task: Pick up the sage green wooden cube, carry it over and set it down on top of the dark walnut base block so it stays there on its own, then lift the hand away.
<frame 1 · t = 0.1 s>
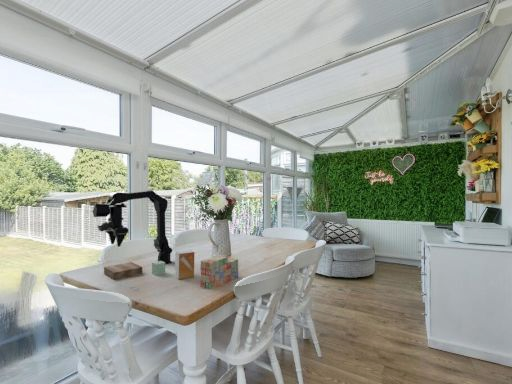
hand: (115, 245, 138), 15 cm above the table, tool pointing down, fingers open, 9 cm apart
stack of blocks: (220, 282, 127), on the table
green cube: (158, 273, 137), on the table
walnut base: (123, 274, 136), on the table
small box: (184, 277, 133), on the table
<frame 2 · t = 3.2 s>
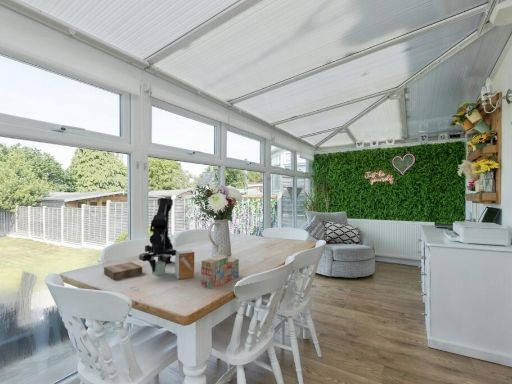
hand: (158, 270, 137), 2 cm above the table, tool pointing down, fingers closed on green cube, 5 cm apart
green cube: (158, 273, 137), on the table, touching gripper
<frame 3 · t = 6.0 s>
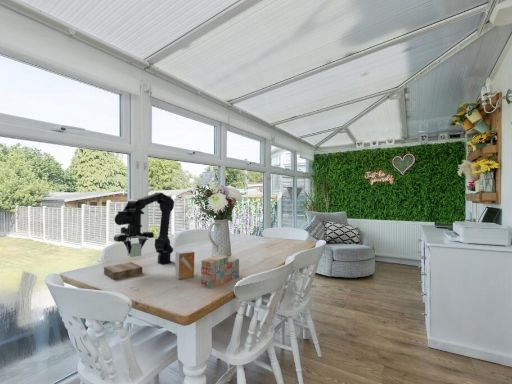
hand: (134, 252, 137), 11 cm above the table, tool pointing down, fingers closed on green cube, 5 cm apart
green cube: (134, 255, 137), point 10 cm above the table, touching gripper
when the fingers open (7 cm above the table, at t = 8.8 s): green cube drops 2 cm, point 3 cm above the table.
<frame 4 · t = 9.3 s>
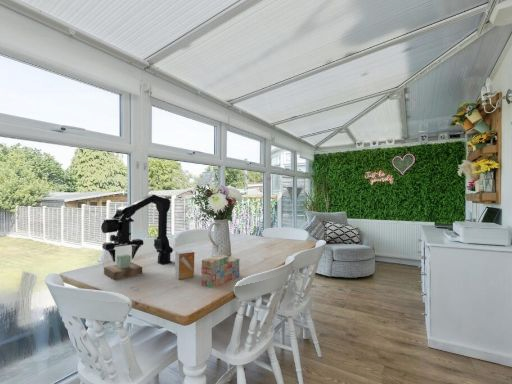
hand: (123, 260, 137), 7 cm above the table, tool pointing down, fingers open, 9 cm apart
green cube: (123, 267, 136), point 3 cm above the table
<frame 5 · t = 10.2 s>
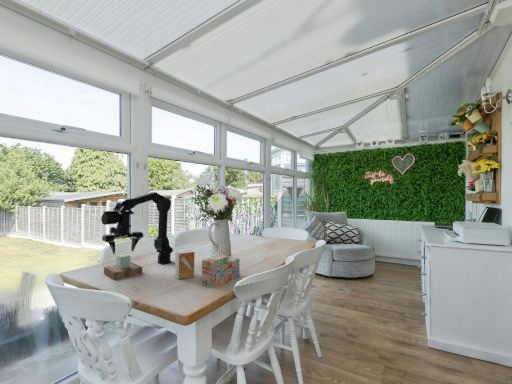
hand: (123, 252, 136), 11 cm above the table, tool pointing down, fingers open, 9 cm apart
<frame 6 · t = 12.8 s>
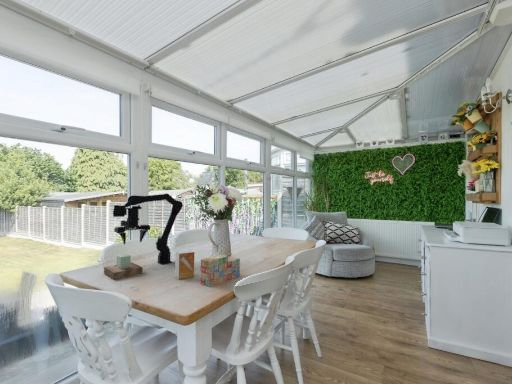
hand: (132, 243, 153), 13 cm above the table, tool pointing down, fingers open, 9 cm apart
at the end: green cube inside the target area on the walnut base (0.2 cm from its centre), point 4.0 cm above the walnut base's base; green cube tilted 0°; the gripper is holding nothing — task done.
